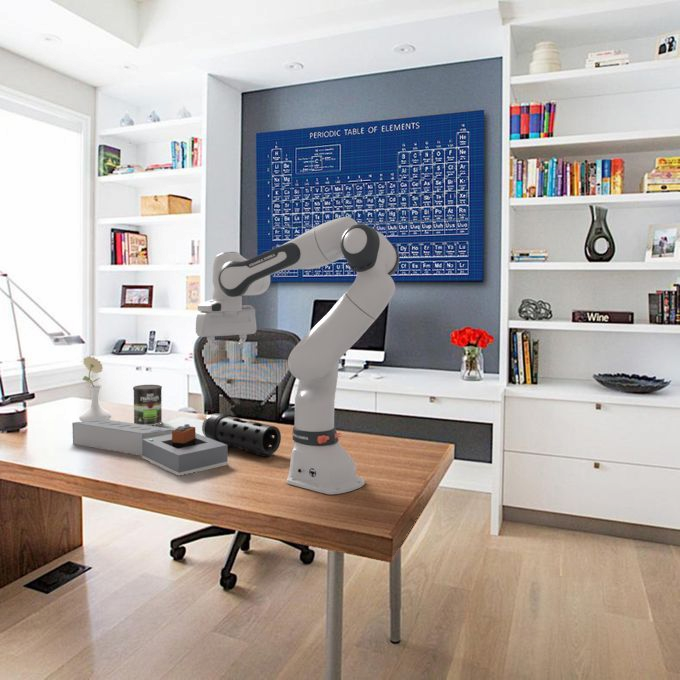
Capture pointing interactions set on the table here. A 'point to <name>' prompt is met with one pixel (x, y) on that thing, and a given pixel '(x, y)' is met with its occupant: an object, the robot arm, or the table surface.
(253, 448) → the muzzle brake
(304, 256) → the robot arm
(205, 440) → the dock
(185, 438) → the battery
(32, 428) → the table surface
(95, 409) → the flower in vase
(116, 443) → the white slatted block
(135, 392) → the coffee can
